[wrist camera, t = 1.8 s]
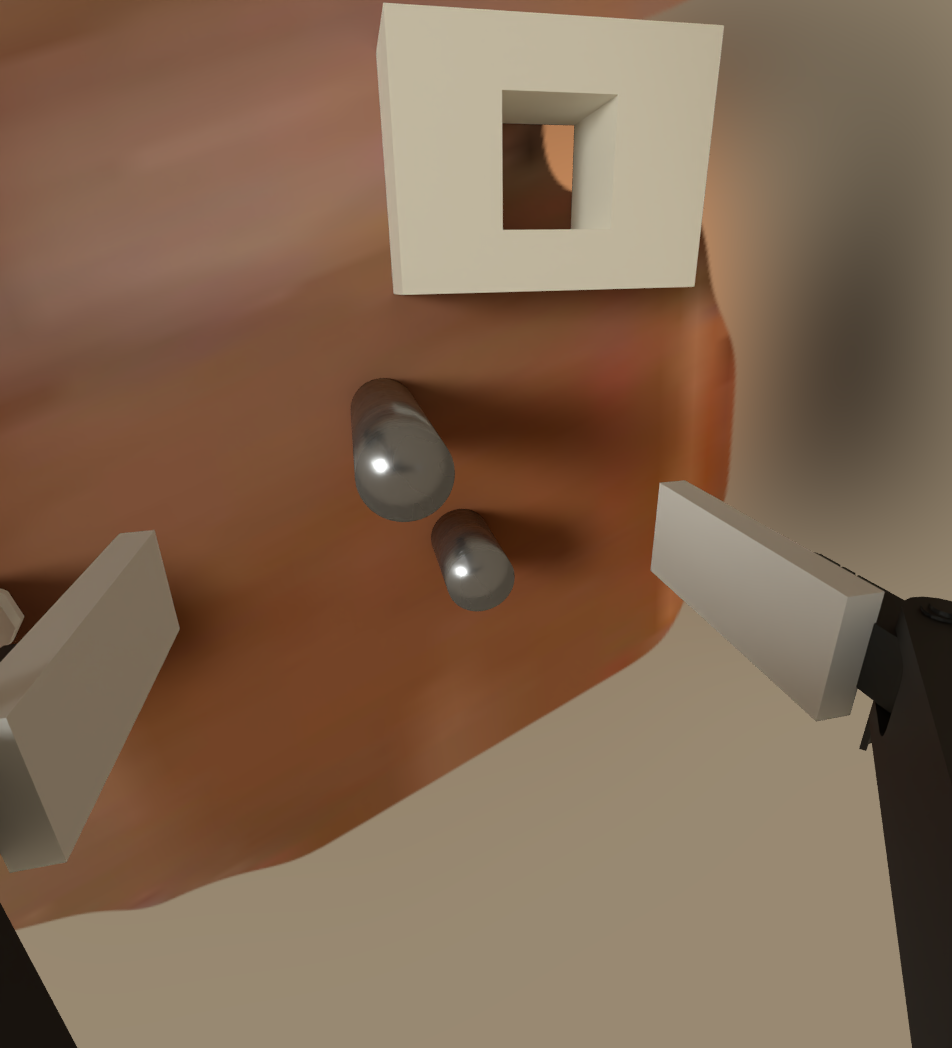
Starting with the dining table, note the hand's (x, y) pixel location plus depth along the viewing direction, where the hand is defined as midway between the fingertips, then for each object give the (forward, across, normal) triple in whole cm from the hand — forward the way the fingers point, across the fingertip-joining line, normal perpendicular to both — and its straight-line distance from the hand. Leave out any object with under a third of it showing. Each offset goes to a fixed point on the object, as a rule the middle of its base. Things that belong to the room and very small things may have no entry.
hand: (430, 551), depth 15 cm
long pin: (+18, 0, 0) cm, 18 cm away
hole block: (+18, +8, +11) cm, 23 cm away
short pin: (+18, +4, -8) cm, 20 cm away
